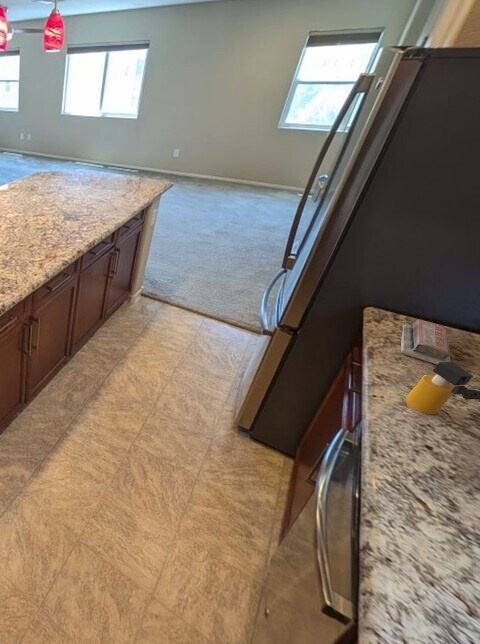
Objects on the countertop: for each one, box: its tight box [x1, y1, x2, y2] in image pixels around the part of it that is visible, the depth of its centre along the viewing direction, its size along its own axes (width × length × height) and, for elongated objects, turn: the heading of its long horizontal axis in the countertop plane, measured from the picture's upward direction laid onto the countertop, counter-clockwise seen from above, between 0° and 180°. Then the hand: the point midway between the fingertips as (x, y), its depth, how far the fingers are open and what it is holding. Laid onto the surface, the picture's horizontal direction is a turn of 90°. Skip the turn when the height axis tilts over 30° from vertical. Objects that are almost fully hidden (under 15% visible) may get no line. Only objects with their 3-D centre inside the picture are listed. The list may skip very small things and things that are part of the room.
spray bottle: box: [405, 361, 474, 415], centre depth 94 cm, size 6×6×14 cm
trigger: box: [451, 385, 469, 395], centre depth 91 cm, size 1×2×2 cm, turn 92°
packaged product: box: [400, 319, 452, 365], centre depth 115 cm, size 18×5×10 cm
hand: (464, 393), depth 90 cm, fingers closed
